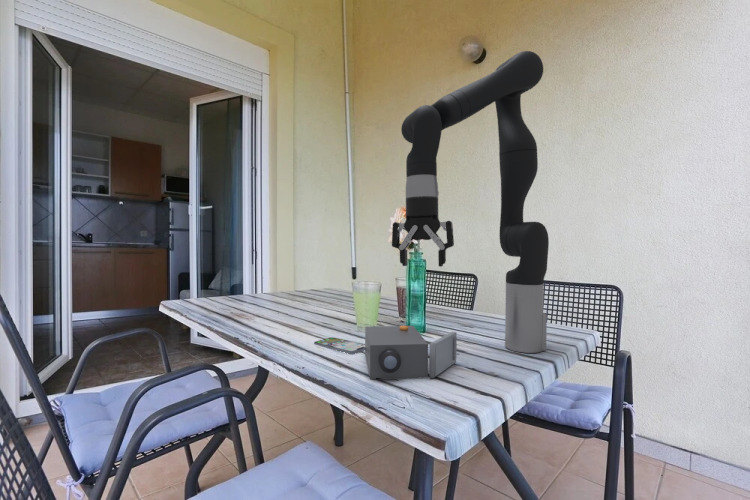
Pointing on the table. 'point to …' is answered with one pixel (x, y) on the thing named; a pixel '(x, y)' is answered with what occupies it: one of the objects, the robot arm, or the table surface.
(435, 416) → the table surface
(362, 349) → the smartphone
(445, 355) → the side door
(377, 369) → the camera body
